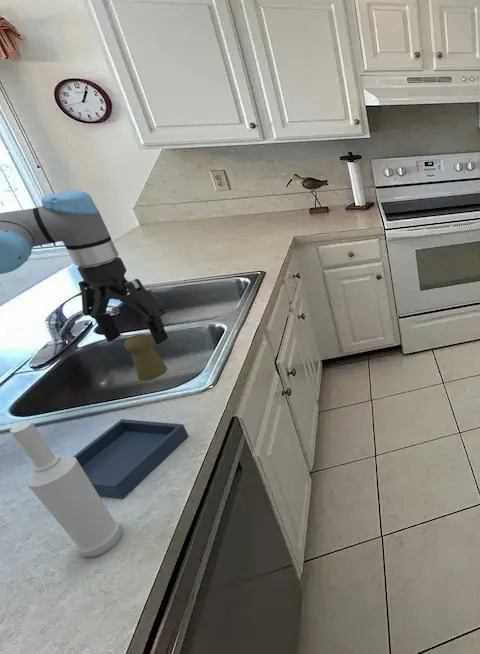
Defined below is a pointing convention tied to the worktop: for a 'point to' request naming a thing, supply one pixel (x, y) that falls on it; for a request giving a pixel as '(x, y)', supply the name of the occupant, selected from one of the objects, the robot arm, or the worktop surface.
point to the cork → (145, 357)
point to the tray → (128, 454)
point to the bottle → (68, 494)
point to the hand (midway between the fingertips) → (138, 339)
